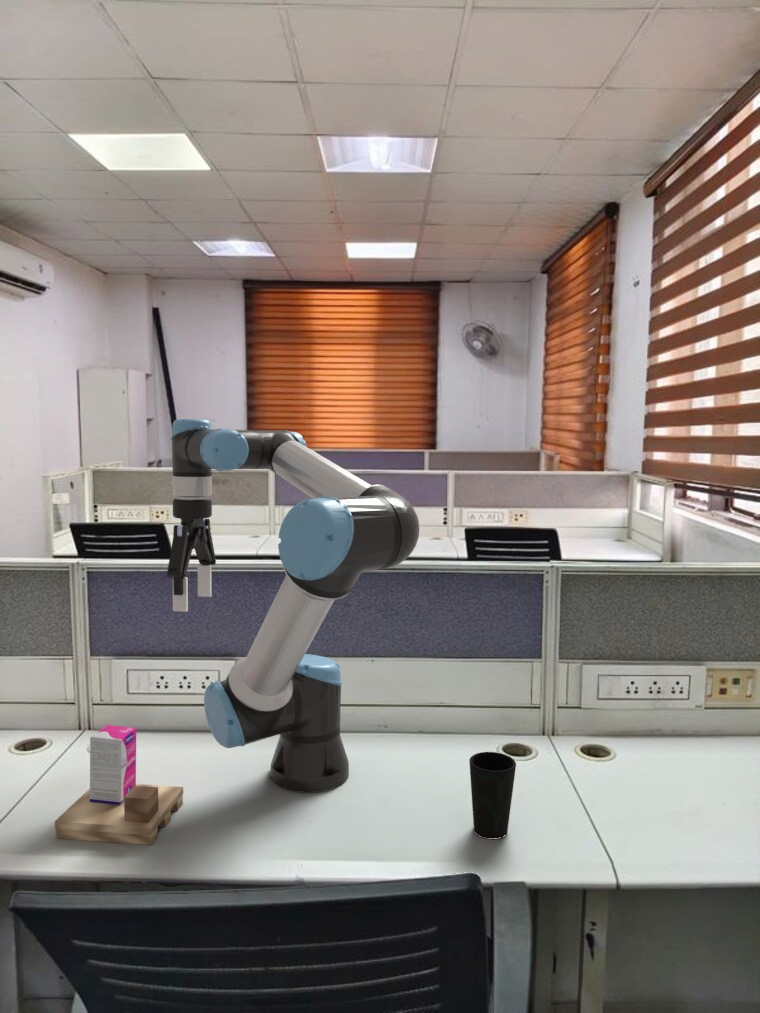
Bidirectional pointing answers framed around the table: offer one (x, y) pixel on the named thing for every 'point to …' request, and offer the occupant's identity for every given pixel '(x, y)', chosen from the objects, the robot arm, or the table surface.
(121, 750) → the supplement box
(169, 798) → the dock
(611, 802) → the table surface
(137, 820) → the brown wooden cube
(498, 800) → the cup
